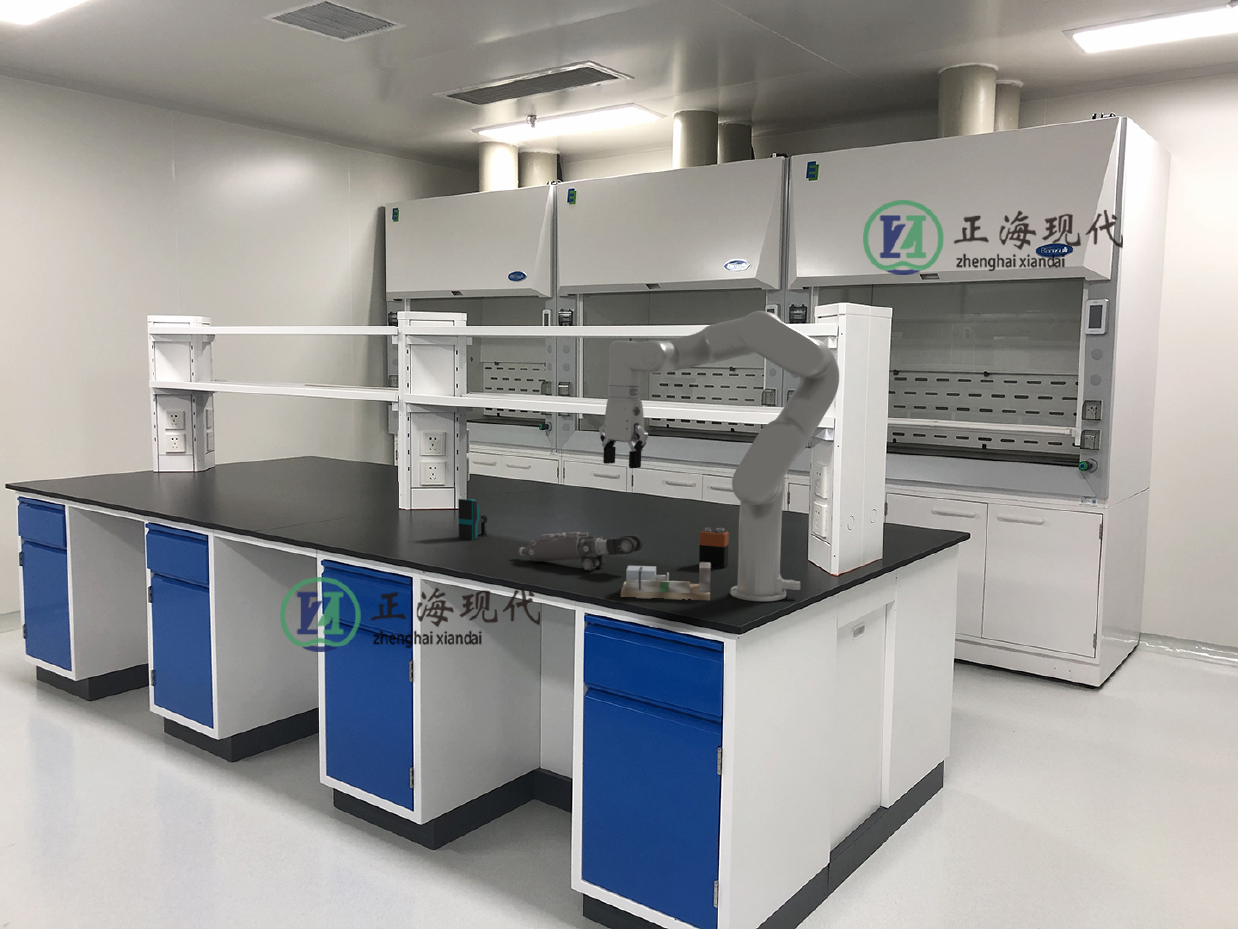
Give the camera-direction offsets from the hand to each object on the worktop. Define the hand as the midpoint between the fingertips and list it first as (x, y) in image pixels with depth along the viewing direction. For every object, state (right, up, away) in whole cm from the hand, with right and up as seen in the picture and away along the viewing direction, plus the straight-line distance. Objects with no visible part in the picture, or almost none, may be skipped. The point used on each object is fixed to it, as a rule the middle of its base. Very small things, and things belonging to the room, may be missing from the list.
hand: (621, 465), depth 222 cm
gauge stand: (+10, -29, -8) cm, 32 cm away
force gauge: (+6, -28, -9) cm, 30 cm away
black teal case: (-44, -22, +59) cm, 77 cm away
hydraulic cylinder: (-12, -27, +20) cm, 35 cm away
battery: (+24, -27, +23) cm, 42 cm away
